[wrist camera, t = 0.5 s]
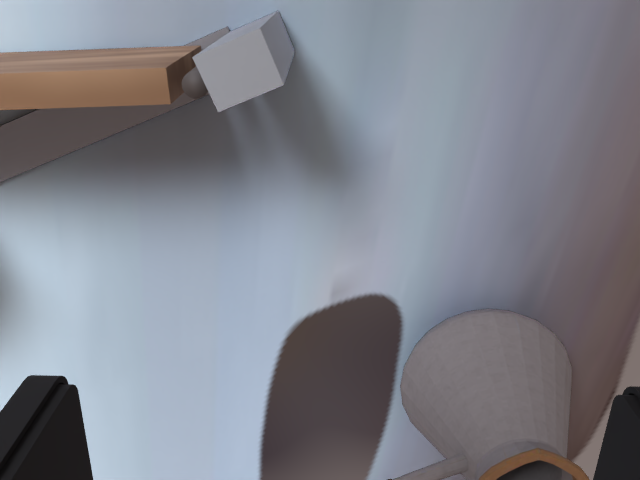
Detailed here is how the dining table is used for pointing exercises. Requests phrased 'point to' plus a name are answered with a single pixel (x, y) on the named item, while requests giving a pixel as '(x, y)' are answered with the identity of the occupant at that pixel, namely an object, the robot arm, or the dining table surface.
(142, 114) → the doorframe
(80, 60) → the door
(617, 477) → the robot arm
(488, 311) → the coffee pot
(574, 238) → the dining table surface
